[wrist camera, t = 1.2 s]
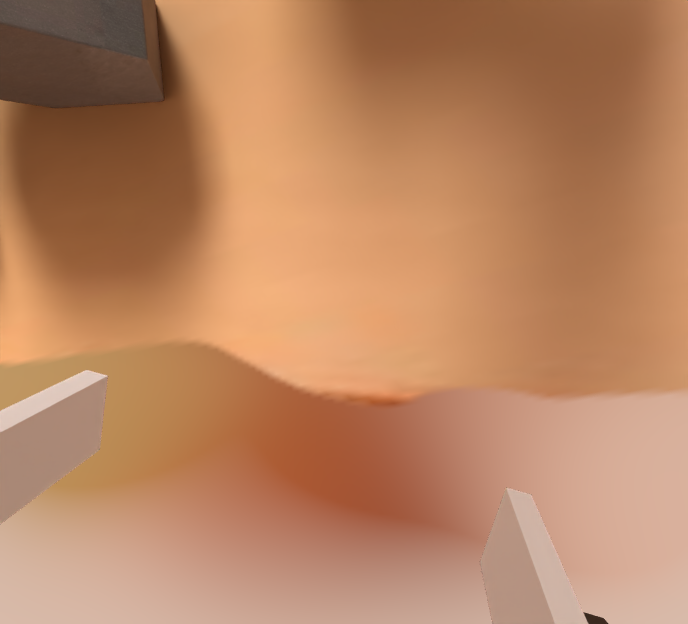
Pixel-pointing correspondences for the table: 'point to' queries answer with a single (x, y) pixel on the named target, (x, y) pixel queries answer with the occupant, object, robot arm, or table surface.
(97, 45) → the grey bevelled block
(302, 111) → the table surface
